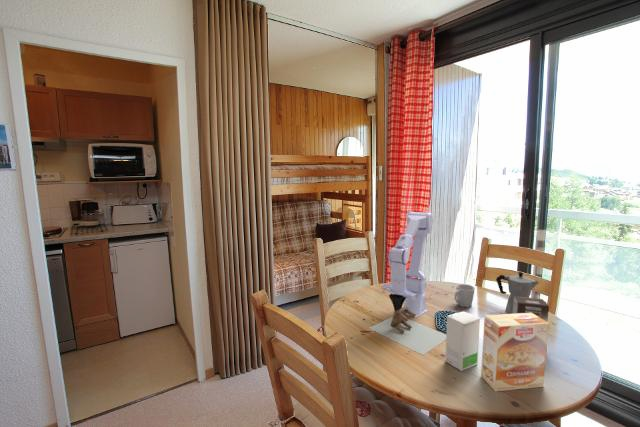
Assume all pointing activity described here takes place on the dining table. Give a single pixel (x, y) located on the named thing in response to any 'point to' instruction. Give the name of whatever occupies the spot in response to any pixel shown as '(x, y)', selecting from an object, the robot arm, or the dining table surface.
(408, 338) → the mat
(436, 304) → the dining table surface
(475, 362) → the skincare box
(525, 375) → the coffeecake box
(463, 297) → the cup
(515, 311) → the coffee box
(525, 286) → the coffeepot
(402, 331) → the stool
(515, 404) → the dining table surface
